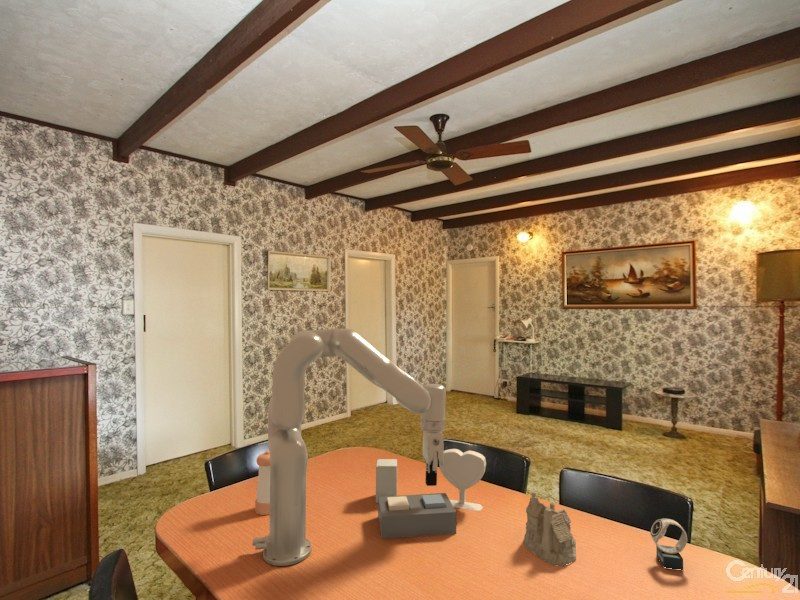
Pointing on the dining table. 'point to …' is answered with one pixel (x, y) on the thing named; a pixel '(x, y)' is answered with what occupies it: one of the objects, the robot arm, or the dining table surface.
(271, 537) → the robot arm
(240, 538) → the dining table surface
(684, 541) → the watch
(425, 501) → the slate blue key
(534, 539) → the ceramic cottage
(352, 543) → the dining table surface
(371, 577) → the dining table surface
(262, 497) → the pepper shaker
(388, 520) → the control pad
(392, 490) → the supplement box
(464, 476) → the heart sculpture
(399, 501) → the cream key
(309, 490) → the dining table surface
